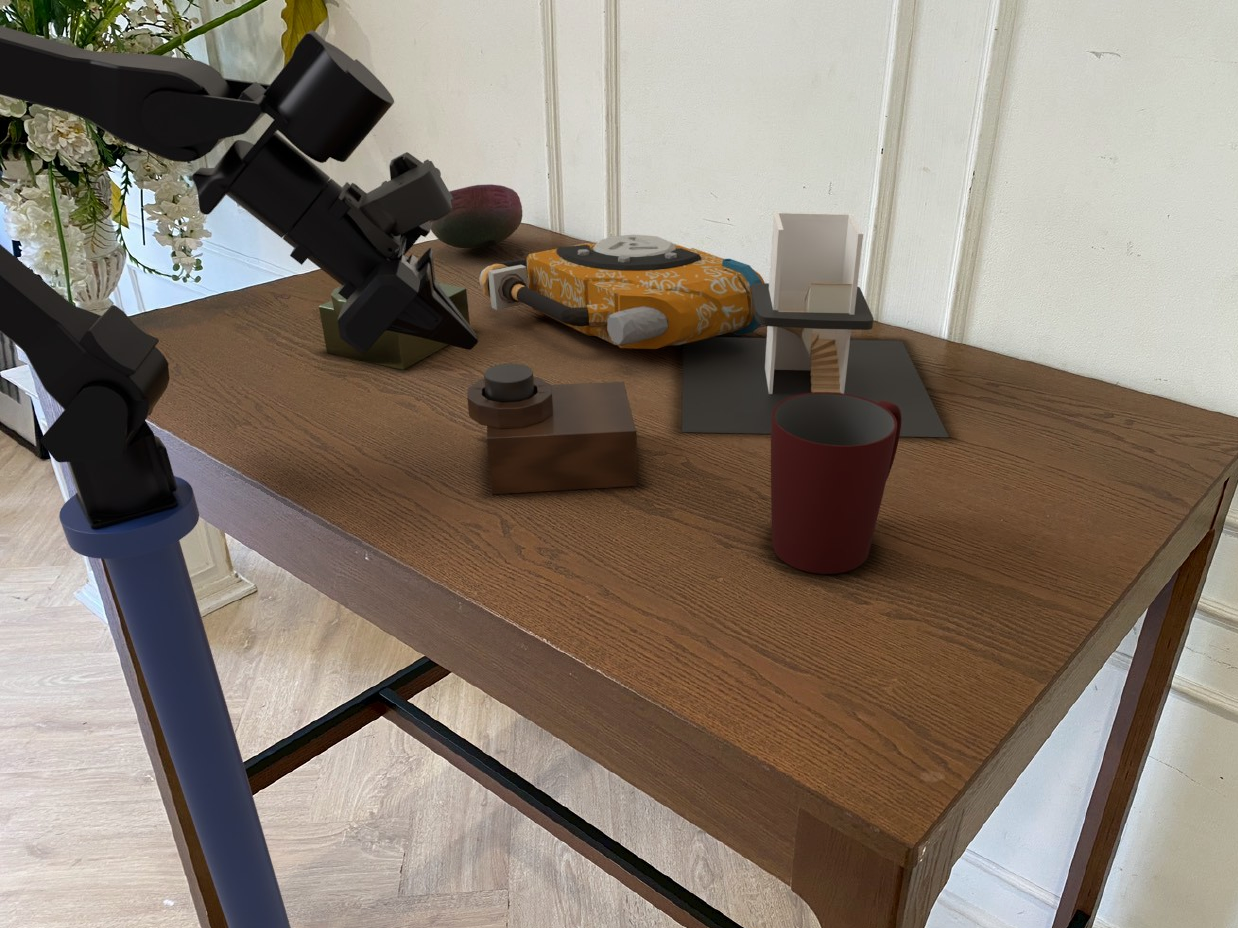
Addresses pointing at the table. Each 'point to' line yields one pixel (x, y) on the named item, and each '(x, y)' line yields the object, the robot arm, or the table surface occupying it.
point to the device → (630, 290)
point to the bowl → (479, 217)
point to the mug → (829, 477)
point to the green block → (386, 335)
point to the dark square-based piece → (803, 340)
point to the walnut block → (558, 437)
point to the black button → (509, 383)
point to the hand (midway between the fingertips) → (474, 344)
